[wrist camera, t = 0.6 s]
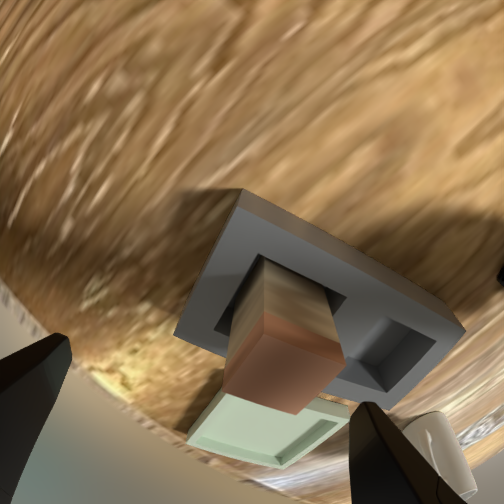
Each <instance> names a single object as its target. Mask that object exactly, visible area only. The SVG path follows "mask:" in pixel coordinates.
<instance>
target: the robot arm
mask: <svg viewBox="0 0 504 504" xmlns="http://www.w3.org/2000/svg"><path fill="white" fill-rule="evenodd" d="M497 280H498V282H499V283H500V284H501V285H502V286H504V267H503V268H502V270H501V271H500V273H499V275H498V277H497ZM71 361H72V352H71V347H70V341H69V338H68V337H67V336H65V335H63V334H61V333H54V334H52V335H49V336H47V337H45V338H43V339H41V340H39V341H37V342H35V343H33V344H31V345H29V346H27V347H25V348H23V349H21V350H19V351H17V352H15V353H13V354H11V355H9V356H7V357H5V358H3V359H1V360H0V504H10V503H11V501H12V497H13V495H14V492H15V490H16V487H17V485H18V482H19V480H20V477H21V475H22V472H23V470H24V468H25V465H26V463H27V461H28V458H29V456H30V453H31V452H32V449H33V447H34V445H35V442H36V441H37V438H38V436H39V434H40V432H41V430H42V428H43V426H44V424H45V422H46V420H47V418H48V416H49V414H50V412H51V410H52V408H53V406H54V404H55V402H56V399H57V397H58V394H59V392H60V389H61V387H62V384H63V381H64V379H65V376H66V374H67V371H68V369H69V367H70V364H71ZM349 473H350V486H351V500H352V504H467V503H466V502H465V501H464V500H463V499H462V498H461V497H460V496H459V495H458V494H457V493H456V492H455V491H454V490H453V489H452V488H451V487H450V486H449V485H448V484H447V483H446V482H445V481H444V479H443V478H442V477H441V476H439V474H438V473H437V472H436V471H435V469H434V468H433V467H432V466H431V465H430V464H429V463H428V462H427V460H426V459H425V458H424V457H423V456H422V455H421V454H420V452H419V451H418V450H417V449H416V448H415V447H414V446H413V445H412V443H411V442H410V441H409V440H408V439H407V438H406V437H405V435H404V434H403V433H402V432H401V431H400V430H399V429H398V427H397V426H396V425H395V424H394V423H393V422H392V421H391V419H390V418H389V417H388V416H387V415H386V414H385V413H384V412H383V410H382V409H381V408H380V407H379V406H378V405H377V404H376V403H375V402H371V401H363V402H361V403H360V405H359V406H358V407H357V409H356V410H355V412H354V413H353V414H352V416H351V418H350V421H349Z"/></svg>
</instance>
